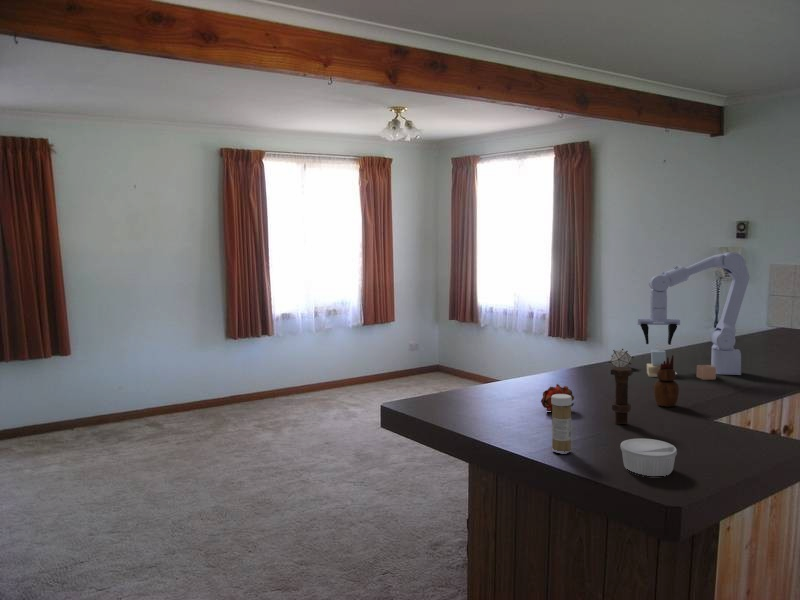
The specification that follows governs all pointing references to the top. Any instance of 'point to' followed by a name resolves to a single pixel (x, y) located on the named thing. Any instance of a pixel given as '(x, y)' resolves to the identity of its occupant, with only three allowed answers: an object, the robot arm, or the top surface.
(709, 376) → the terracotta block
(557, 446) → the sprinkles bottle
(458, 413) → the top surface
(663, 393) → the wooden figurine
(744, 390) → the top surface
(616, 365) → the game die
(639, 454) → the ramekin
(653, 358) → the blue-grey block
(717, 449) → the top surface
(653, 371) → the maple base block
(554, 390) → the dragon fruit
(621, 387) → the bolt
